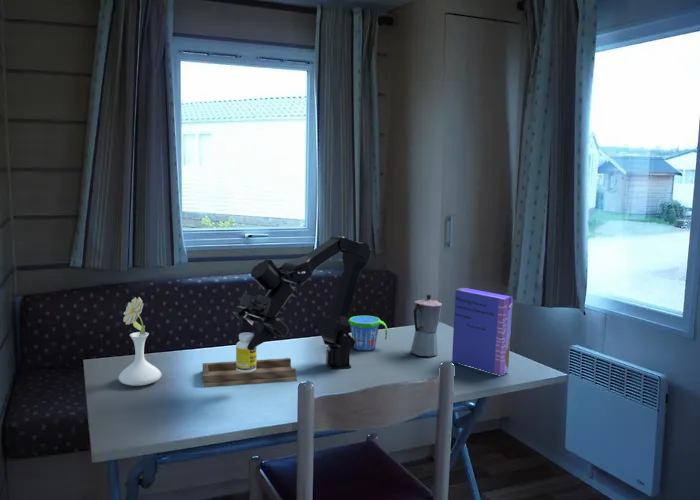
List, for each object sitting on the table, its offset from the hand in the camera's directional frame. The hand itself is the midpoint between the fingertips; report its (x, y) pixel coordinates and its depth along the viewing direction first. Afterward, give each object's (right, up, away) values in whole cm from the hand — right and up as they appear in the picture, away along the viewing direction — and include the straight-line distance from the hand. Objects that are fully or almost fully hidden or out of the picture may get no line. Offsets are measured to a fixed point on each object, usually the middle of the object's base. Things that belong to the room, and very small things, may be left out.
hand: (242, 346), depth 160 cm
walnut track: (-1, -11, +16) cm, 19 cm away
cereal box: (+69, -11, +28) cm, 76 cm away
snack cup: (+34, -8, +45) cm, 57 cm away
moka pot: (+54, -9, +41) cm, 68 cm away
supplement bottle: (+1, -7, +2) cm, 7 cm away
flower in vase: (-30, -12, +8) cm, 33 cm away
